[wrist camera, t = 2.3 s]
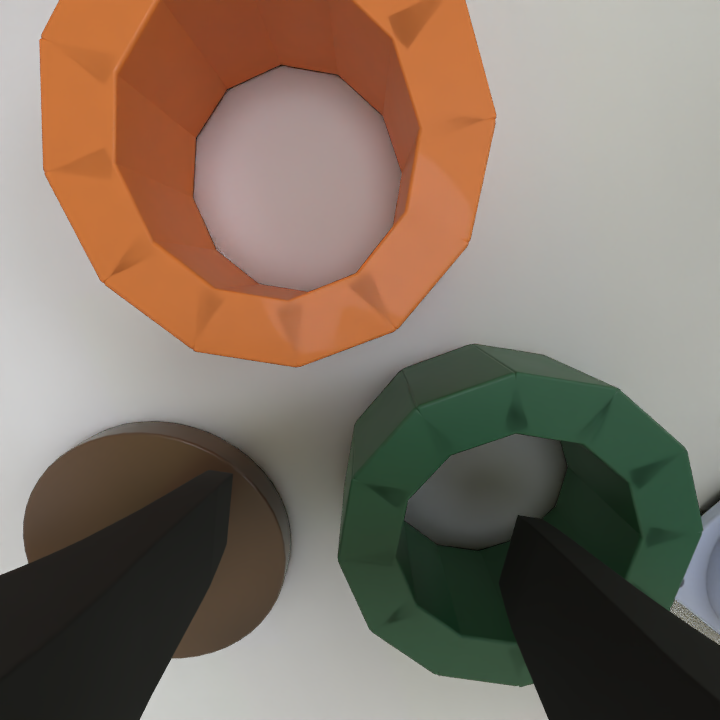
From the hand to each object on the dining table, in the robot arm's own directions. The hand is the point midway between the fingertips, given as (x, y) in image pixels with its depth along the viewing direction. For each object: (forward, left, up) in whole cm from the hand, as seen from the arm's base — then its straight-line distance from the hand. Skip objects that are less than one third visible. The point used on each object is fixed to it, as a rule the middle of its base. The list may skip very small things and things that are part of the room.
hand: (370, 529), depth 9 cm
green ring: (-3, -2, -4) cm, 5 cm away
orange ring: (+7, -5, -4) cm, 10 cm away
